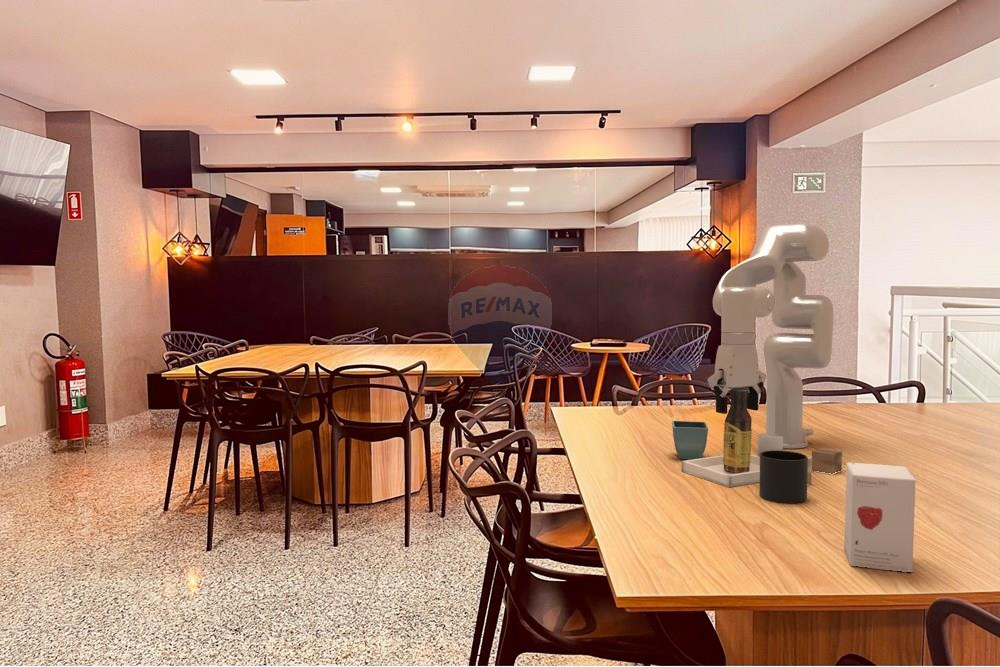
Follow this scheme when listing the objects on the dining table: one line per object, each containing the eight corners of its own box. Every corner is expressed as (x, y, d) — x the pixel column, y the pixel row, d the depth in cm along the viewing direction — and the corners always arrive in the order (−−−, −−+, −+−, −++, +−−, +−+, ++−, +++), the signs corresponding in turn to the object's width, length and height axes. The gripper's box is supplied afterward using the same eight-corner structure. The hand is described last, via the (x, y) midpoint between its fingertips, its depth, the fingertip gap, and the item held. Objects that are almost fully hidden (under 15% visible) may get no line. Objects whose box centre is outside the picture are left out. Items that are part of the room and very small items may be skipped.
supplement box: (849, 567, 112) (850, 474, 111) (843, 547, 120) (845, 461, 119) (914, 574, 108) (916, 479, 108) (903, 554, 117) (906, 465, 116)
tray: (743, 461, 180) (743, 452, 180) (793, 476, 165) (793, 466, 165) (681, 471, 171) (681, 461, 171) (728, 487, 157) (728, 476, 157)
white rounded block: (769, 459, 182) (769, 432, 182) (787, 464, 177) (788, 437, 177) (752, 462, 180) (752, 435, 179) (770, 467, 174) (770, 439, 174)
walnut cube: (820, 467, 174) (821, 447, 173) (841, 471, 170) (842, 451, 170) (811, 471, 170) (811, 451, 170) (832, 475, 167) (832, 454, 166)
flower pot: (708, 462, 180) (708, 427, 179) (672, 461, 182) (673, 426, 181) (705, 454, 188) (705, 421, 188) (671, 453, 190) (671, 420, 190)
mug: (810, 491, 153) (811, 450, 153) (804, 506, 143) (805, 462, 142) (764, 485, 158) (765, 446, 157) (755, 500, 147) (756, 457, 147)
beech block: (802, 479, 163) (802, 454, 162) (811, 484, 159) (811, 458, 158) (785, 480, 162) (785, 454, 162) (794, 485, 158) (794, 458, 158)
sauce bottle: (718, 468, 171) (720, 387, 170) (743, 467, 172) (744, 386, 171) (729, 475, 165) (731, 391, 164) (755, 474, 165) (757, 390, 164)
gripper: (753, 337, 174) (752, 406, 175) (698, 340, 166) (697, 412, 167) (777, 339, 167) (776, 410, 168) (721, 342, 159) (720, 417, 160)
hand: (737, 411), depth 167 cm, fingers open, 9 cm apart
